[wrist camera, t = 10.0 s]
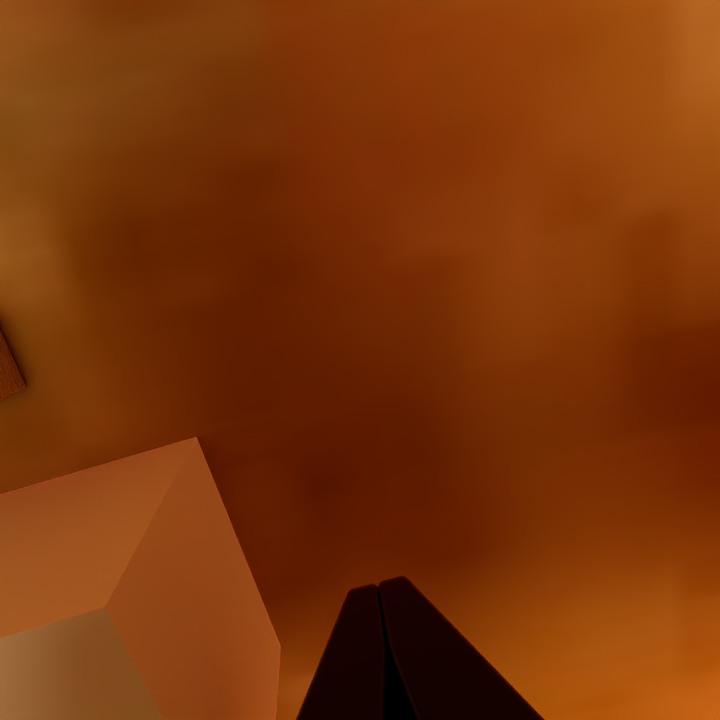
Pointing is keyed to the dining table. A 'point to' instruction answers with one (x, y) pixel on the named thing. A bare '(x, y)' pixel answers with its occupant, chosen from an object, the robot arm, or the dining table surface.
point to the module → (131, 598)
